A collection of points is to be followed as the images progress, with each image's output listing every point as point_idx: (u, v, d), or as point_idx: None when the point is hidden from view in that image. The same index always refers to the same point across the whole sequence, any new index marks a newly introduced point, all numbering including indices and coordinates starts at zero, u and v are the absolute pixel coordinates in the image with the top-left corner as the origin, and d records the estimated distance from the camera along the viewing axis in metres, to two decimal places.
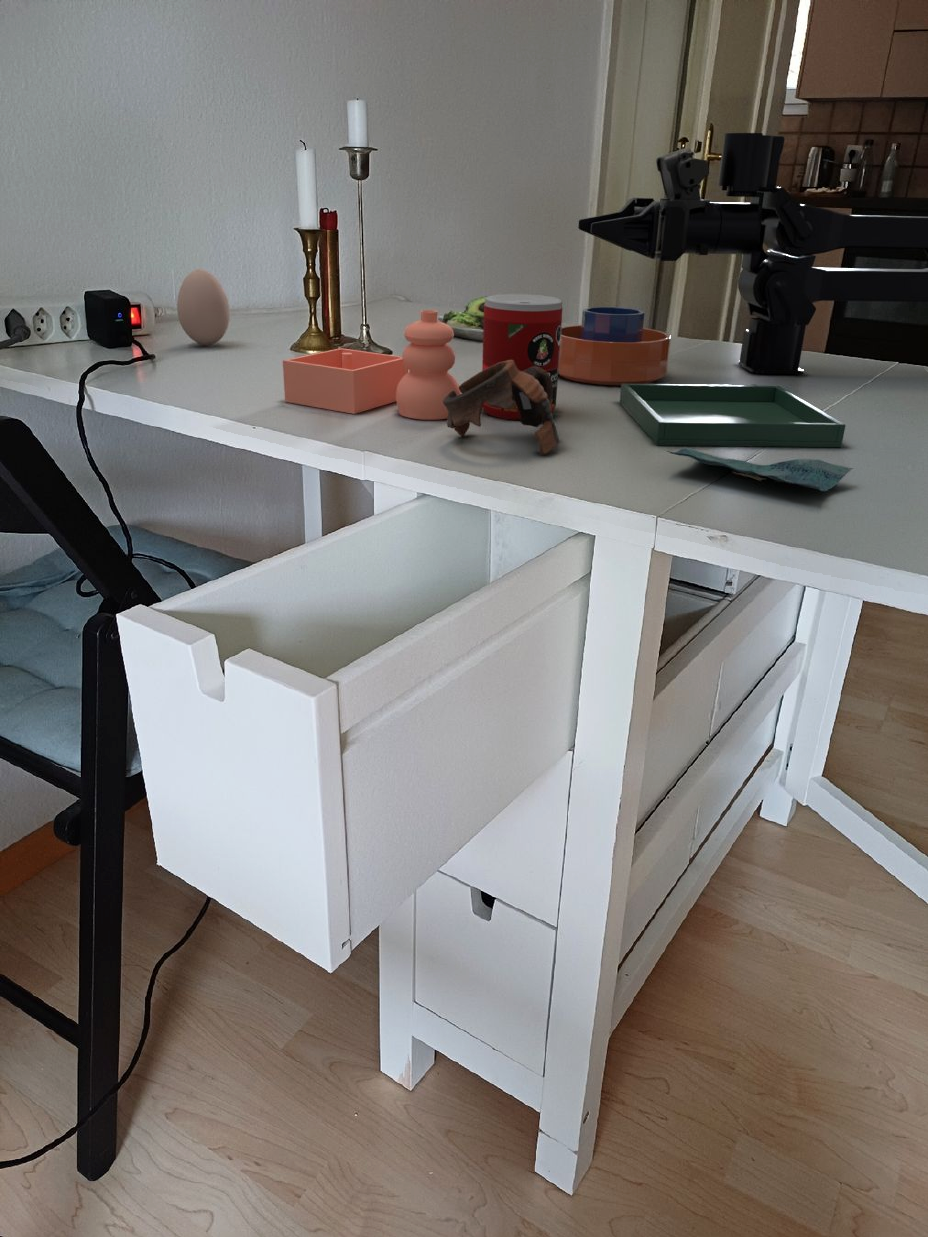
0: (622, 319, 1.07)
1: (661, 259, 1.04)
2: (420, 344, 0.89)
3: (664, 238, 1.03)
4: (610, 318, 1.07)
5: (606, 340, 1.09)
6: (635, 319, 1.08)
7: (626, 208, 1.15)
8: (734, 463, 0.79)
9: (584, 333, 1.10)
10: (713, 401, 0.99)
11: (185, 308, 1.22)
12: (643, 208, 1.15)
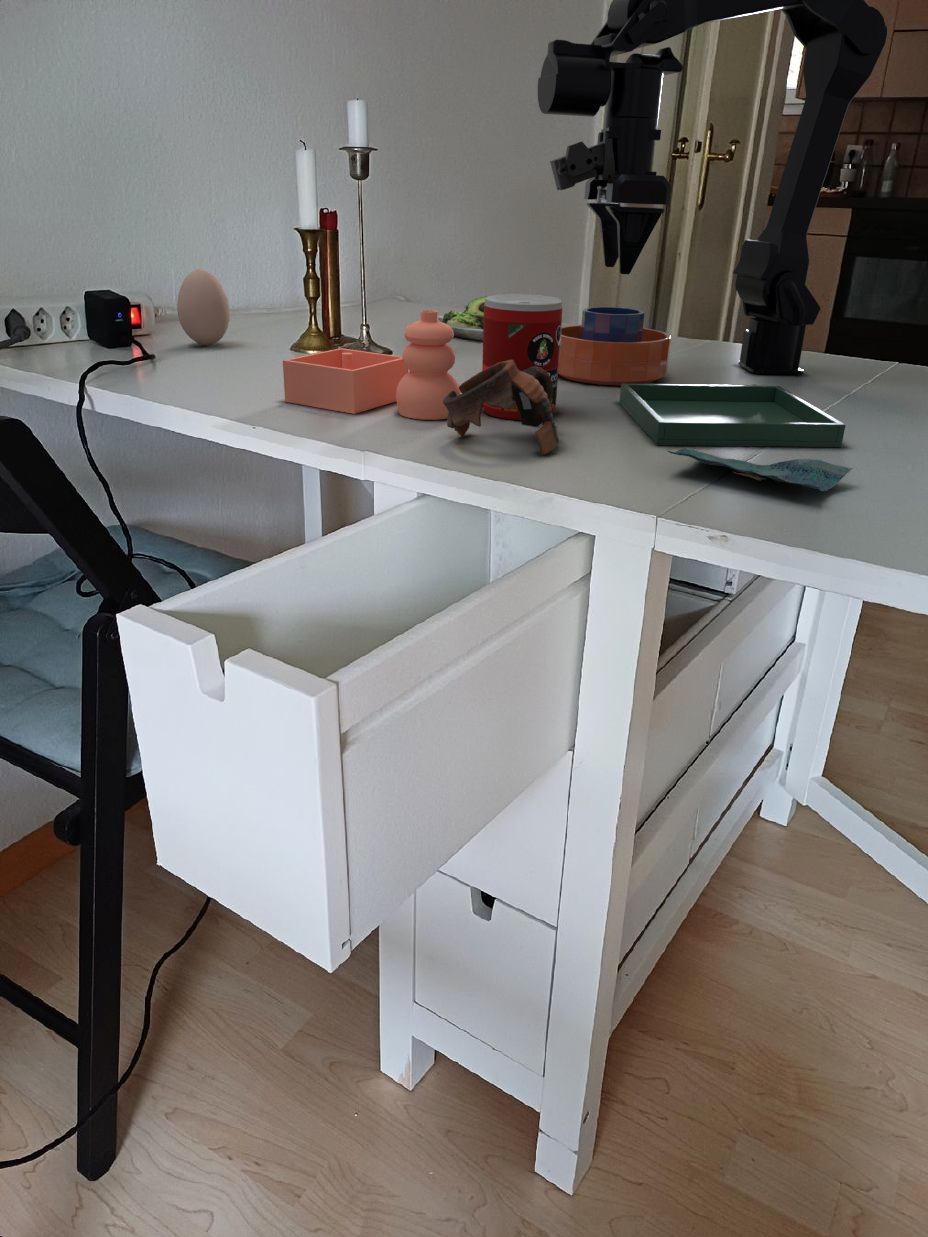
0: (622, 319, 1.07)
1: (668, 203, 0.97)
2: (420, 344, 0.89)
3: (648, 202, 0.97)
4: (610, 318, 1.07)
5: (606, 340, 1.09)
6: (635, 319, 1.08)
7: (598, 213, 1.10)
8: (734, 463, 0.79)
9: (584, 333, 1.10)
10: (713, 401, 0.99)
11: (185, 308, 1.22)
12: (599, 192, 1.10)
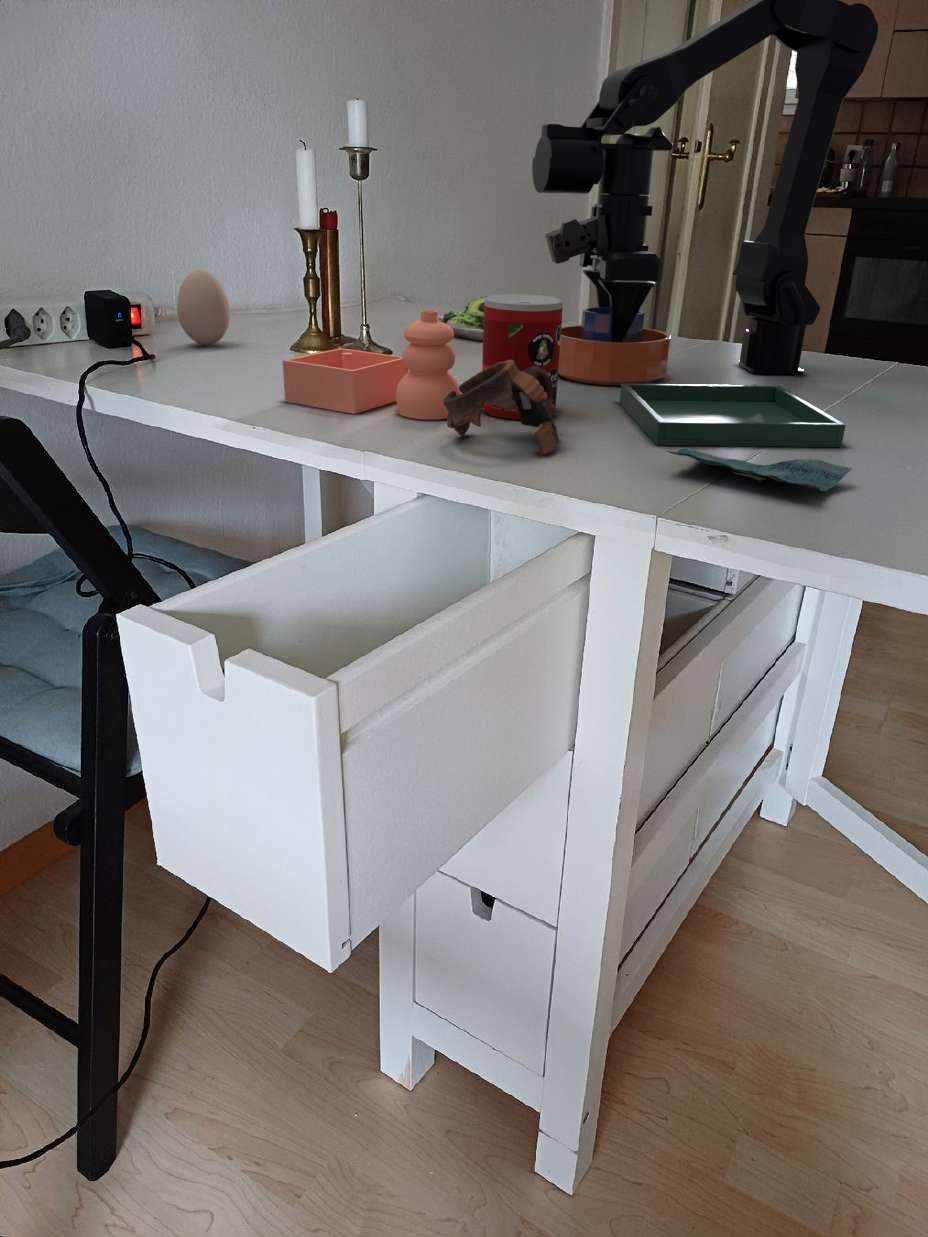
0: None
1: (659, 279, 1.01)
2: (420, 344, 0.89)
3: (640, 279, 1.00)
4: (610, 318, 1.07)
5: (606, 340, 1.09)
6: (635, 319, 1.08)
7: (594, 281, 1.13)
8: (734, 463, 0.79)
9: (584, 333, 1.10)
10: (713, 401, 0.99)
11: (185, 308, 1.22)
12: (594, 261, 1.12)
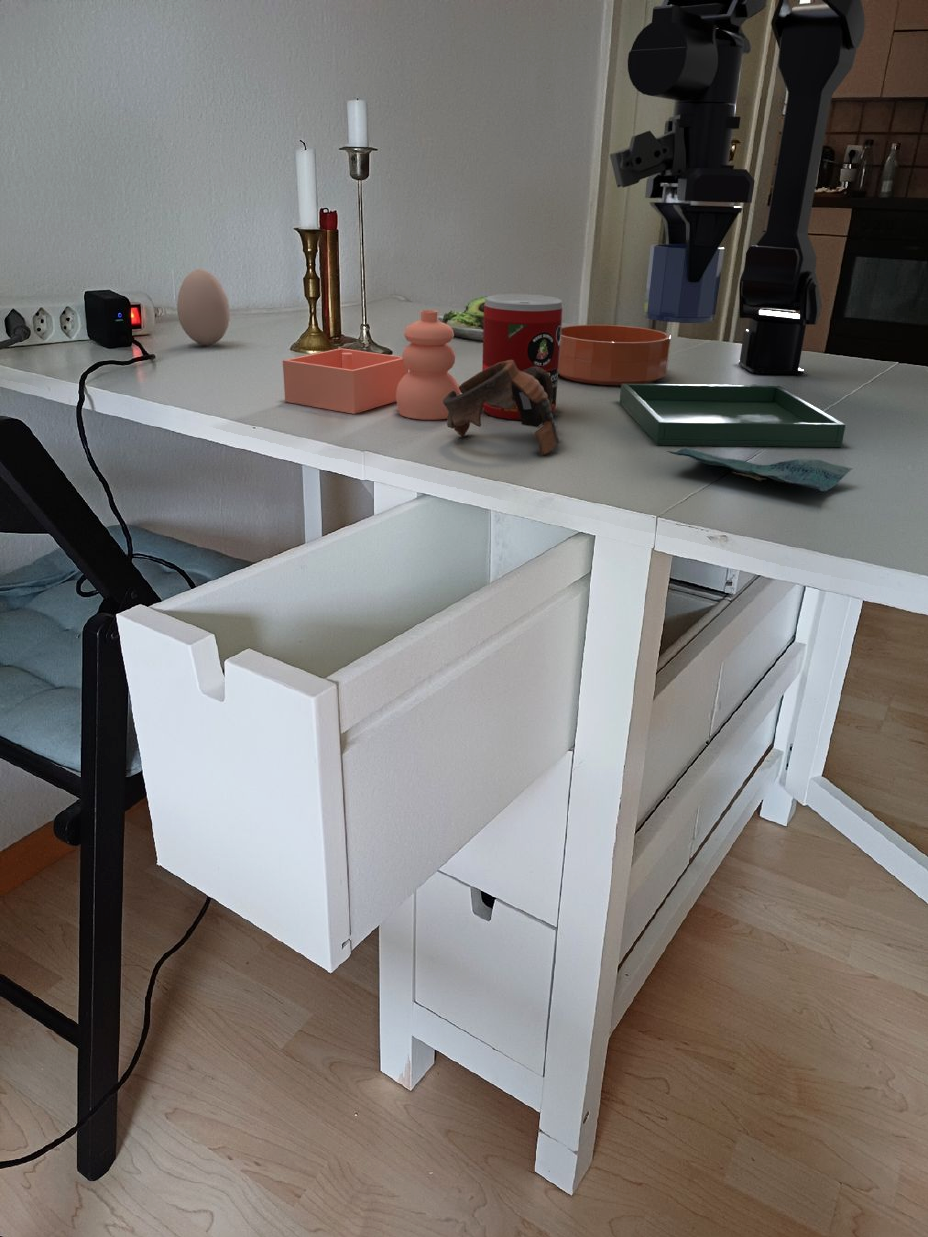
0: None
1: (750, 201, 0.84)
2: (420, 344, 0.89)
3: (727, 200, 0.84)
4: (685, 253, 0.91)
5: (679, 279, 0.92)
6: (714, 255, 0.92)
7: (664, 213, 0.96)
8: (734, 463, 0.79)
9: (652, 272, 0.94)
10: (713, 401, 0.99)
11: (185, 308, 1.22)
12: (665, 190, 0.96)
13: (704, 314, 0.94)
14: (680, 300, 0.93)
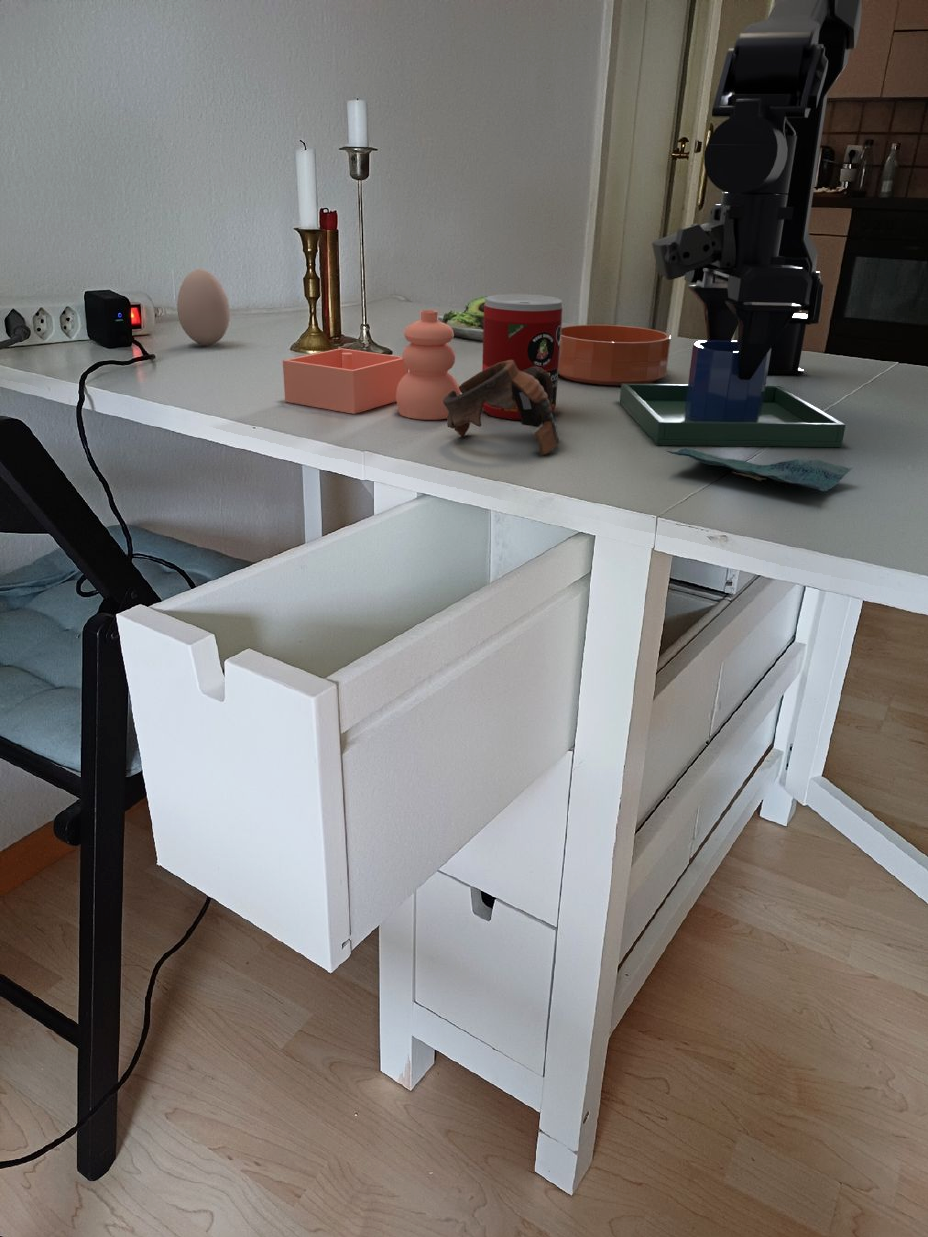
0: None
1: (807, 301, 0.79)
2: (420, 344, 0.89)
3: (783, 301, 0.79)
4: (732, 357, 0.86)
5: (725, 383, 0.87)
6: None
7: (704, 299, 0.92)
8: (734, 463, 0.79)
9: (696, 374, 0.89)
10: None
11: (185, 308, 1.22)
12: (705, 275, 0.91)
13: (750, 418, 0.89)
14: (726, 404, 0.88)
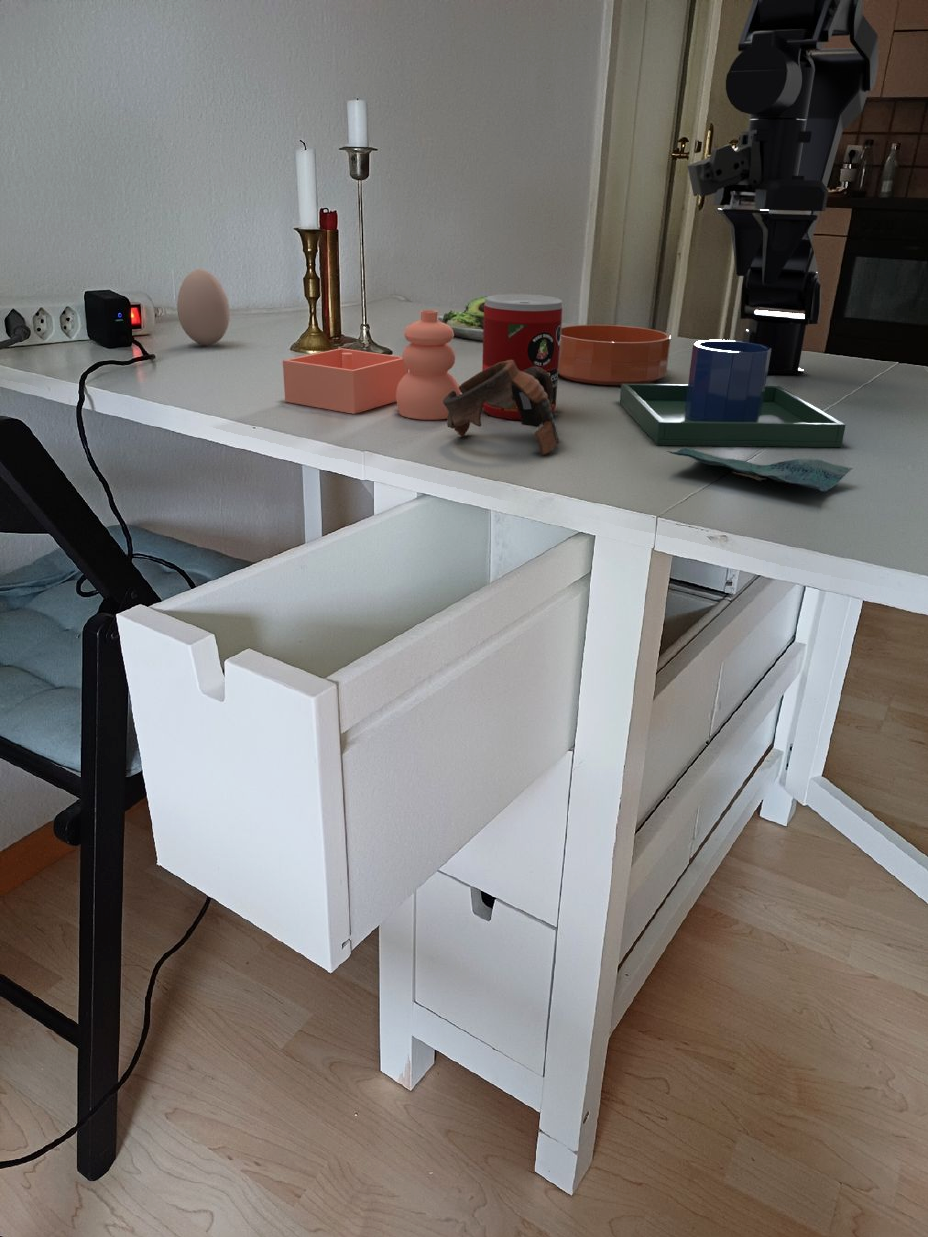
0: (746, 358, 0.86)
1: (824, 209, 0.92)
2: (420, 344, 0.89)
3: (804, 209, 0.91)
4: (732, 357, 0.86)
5: (725, 383, 0.87)
6: (762, 357, 0.87)
7: (731, 219, 1.05)
8: (734, 463, 0.79)
9: (696, 374, 0.89)
10: None
11: (185, 308, 1.22)
12: (732, 197, 1.04)
13: (750, 418, 0.89)
14: (726, 404, 0.88)
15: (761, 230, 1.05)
